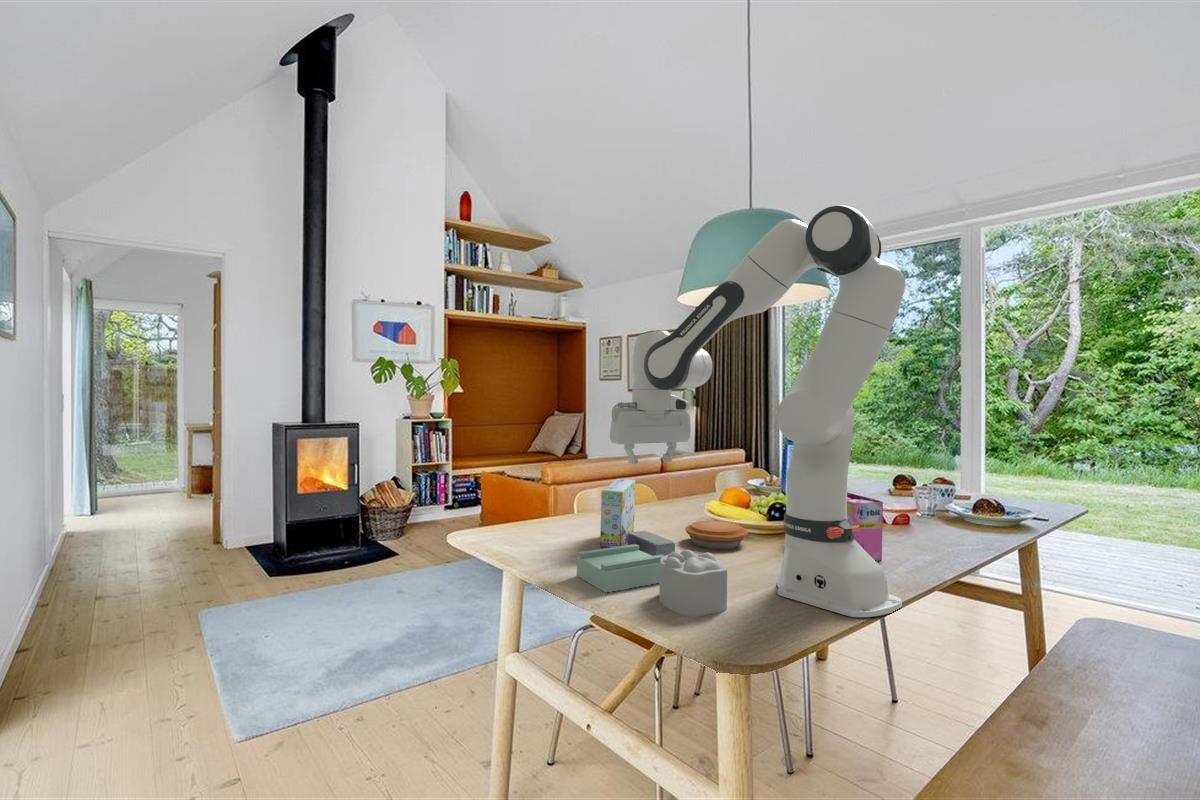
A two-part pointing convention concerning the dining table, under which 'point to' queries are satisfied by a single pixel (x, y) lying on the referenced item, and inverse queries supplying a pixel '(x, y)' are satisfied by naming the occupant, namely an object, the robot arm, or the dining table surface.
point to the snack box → (617, 513)
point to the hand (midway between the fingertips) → (650, 462)
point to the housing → (651, 543)
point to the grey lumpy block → (693, 583)
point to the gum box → (866, 523)
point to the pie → (716, 534)
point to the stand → (618, 568)
